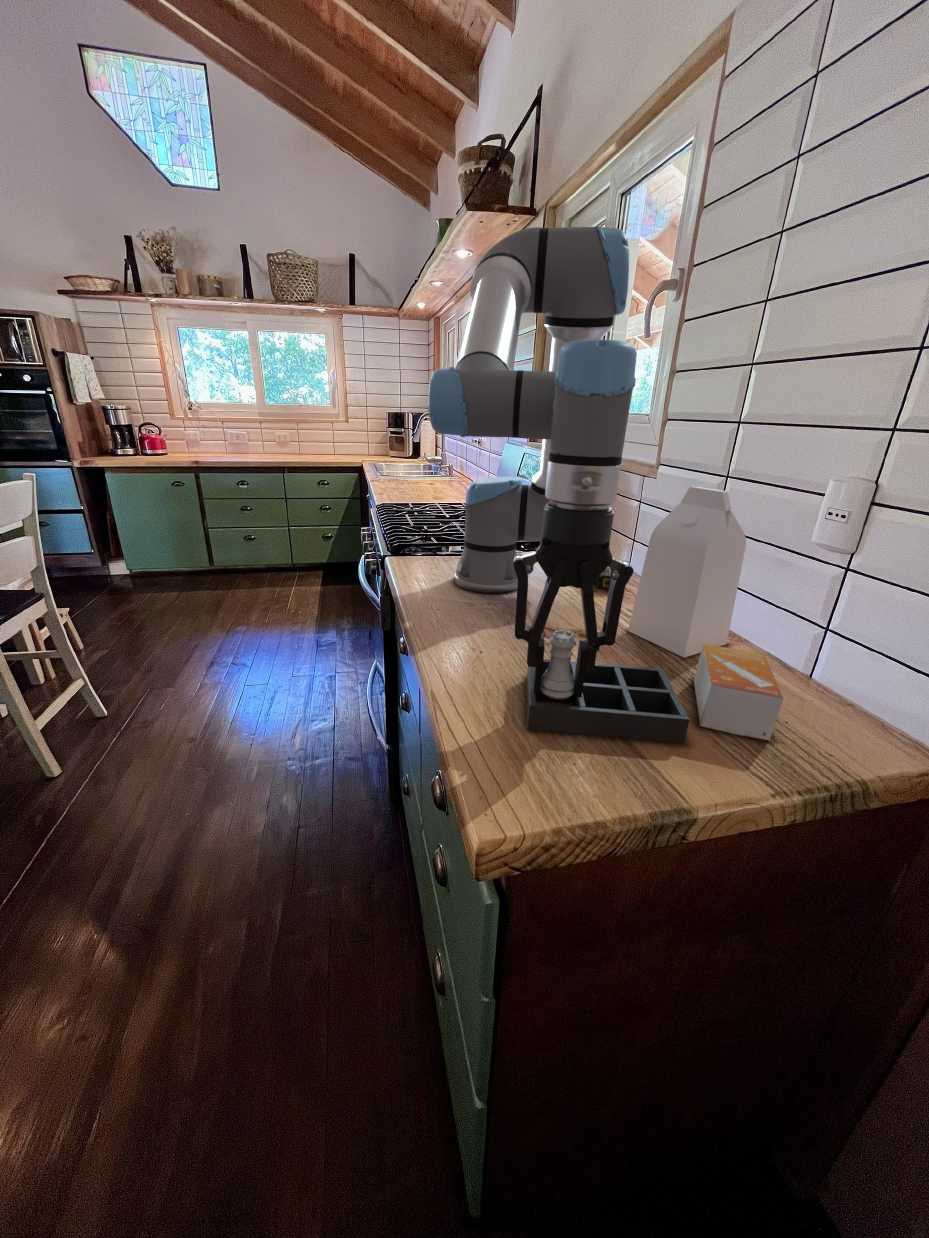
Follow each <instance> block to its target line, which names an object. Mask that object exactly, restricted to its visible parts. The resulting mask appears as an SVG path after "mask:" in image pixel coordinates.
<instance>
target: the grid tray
mask: <svg viewBox="0 0 929 1238" xmlns="http://www.w3.org/2000/svg"><path fill="white" fill-rule="evenodd" d="M576 662H577V661H573V660H572V661H571V660H570V666H571V673H572V675H573V678H574V677H575V669H576ZM549 663H550V659H547V658H544V659H543V668H542V676H543V674H545V671H546V670H547V669H548V666H549ZM534 670H535V667H528V666H527V672H526V717H527V718H526V721H527V723H526V724H527V725H526V726H527V727H526V728H527V730H528V731H540V732H550V733H561V734H571V735H572V734H573V735H583V736H594V737H605V738H615V739H625V740H637V741H648V742H659V743H670V744H678V745H679V744H680V745H684V744H685V741H686V736H687V732H688V728H689V725H690V716H689V715H688V714H687V711H686V710H685V708H684V706H683V704H682V703H681V701H680V699H679V697H678V695H677V693H676V691H675V690H674V688H673V686H672V684H671V682H670V681H669V678H668V676H667V675H666V673H665V671H664V669H663V668H660V667H659V668H658V667H647V666H633V665H622V664H611V663H610V664H609V663H597V662H595V667H594V670H593V671H592V672H591V671H585V676H584V683H583V690H582V697H575V693H574V694H573V695H572V696H570V697H569V698H567V699H553V698H549V697H547V696H545V695H544V694H543V693H542V691H541V690H540V694H534V689H533V680H534ZM541 678H542V677H541Z"/></svg>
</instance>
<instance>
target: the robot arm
mask: <svg viewBox="0 0 929 1238" xmlns="http://www.w3.org/2000/svg"><path fill="white" fill-rule="evenodd" d="M629 279H630V249H629V241H628V237H627V234H626V233H625V232H624V231H623V230H622V229H621V228H617V227H606V226H599V225H596V226H575V227H574V226H569V227H568V226H567V227H565V226H563V227H562V226H560V227H541V226H536V227H528V228H523V229H520V230H518V231H515V232H513V233H511V234H509V235H508V236H506V237H504V238H503V239H501V240H500V241H498V242H497V243H496V244H494V245H493V246H491V248H490V249H488V250H487V252H486V253H485V254H483V256H482V258H481V259H480V260H479V261H478V264H477V265H476V267H475V270H474V272H473V276H472V279H471V283H470V290H469V291H470V299H471V302H472V303H471V308H470V311H469V315H468V318H467V322H466V326H465V330H464V333H463V337H462V340H461V344H460V347H459V351H458V355H457V359H456V362H455V366H450V367H447V368H438V369H436V370H434V371H433V372H432V374H431V375H430V379H429V383H428V397H427V398H428V399H427V403H428V404H427V406H428V407H427V408H428V417H429V423H430V426H431V427H432V429H433V430H434V432H436V433H437V434H440V435H449V436H459V437H461V438H467V437H472V438H514V439H529V440H542V445H541V455H540V465H539V470H538V471H537V472H536V473H534V474H533V475H532V477H531V484H523V482H522V478H521V477H520V476H496V477H495V476H494V477H488V478H481V479H477V480H473V481H471V482H470V483H469V484H467V487H466V493H465V502H464V509H465V510H464V536H463V540H464V541H463V550H462V554H461V556H460V558H459V560H458V561H457V564H456V570H455V572H454V583H455V585H457V586H458V587H460V588H462V589H464V590H468V591H472V592H477V593H485V594H500V593H508V592H509V593H510V592H512V591H516V600H515V601H516V602H515V603H516V604H515V618H514V619H515V620H514V637H515V638H516V639H517V640H523V641H526V643H527V650H526V665H527V668H528V667H535V670H534V680H533V689H534V694H540V687H541V677H542V668H543V659H545V649H546V645H545V637H542V635H543V632H544V630H545V626H546V625H547V621H548V619H549V615H550V613H551V610H552V607H553V605H554V603H555V599H556V597H557V595H558V593H559V590H560V588H566V587H573V588H576V589H580V597H581V605H582V606H581V607H582V615H583V621H584V623H583V624H584V632H585V640H578V648H577V654H576V655H577V656H576V661H575V662H576V669H575V677H574V681H575V686H574V689H575V692H574V693H575V697H582V690H583V683H584V676H585V671H591V672H592V671H593V670H594V667H595V663H596V660H597V653H598V652H599V650H600V647H603V646H608V647H610V646H613V645H615V642H616V639H617V638H616V637H617V633H618V629H619V628H618V627H619V622H620V617H621V611H622V605H623V601H624V595H625V590H626V586H627V584H628V583H629V582H630V579H631V577H632V576H633V574H634V572H635V571H634V568H633V566H632V565H631V564H630V562H629V561H628V560H626V559H625V560H620V559H617V558H616V557H613V554H612V552H611V549H610V543H611V537H612V531H613V523H614V517H615V510H614V509H613V508H612V507H611V506H610V505H613V504H614V503H615V502H617V497H618V496H617V495H618V490H619V489H618V488H619V482H620V474H621V473H620V472H621V467H622V460H623V454H624V453H623V452H624V446H625V439H626V433H627V426H628V421H629V414H630V409H631V402H632V396H633V392H634V391H633V389H634V387H635V386H636V381H637V379H636V377H635V375H636V374H635V373H636V367H637V366H636V365H637V355H638V354H637V353H638V352H637V349H636V347H635V345H633V344H632V343H630V342H628V341H623V340H618V339H603V338H604V336H605V335H606V334H607V333H609V332H610V331H611V330H612V328H613V326H614V322H615V321H614V320H615V316H618V317H619V316H620V315H622V314H624V312H625V309H626V306H627V298H628V291H629ZM526 313H527V314H529V313H532V314H544V315H545V318H544V327H545V329H546V330H547V332H549V334H550V336H551V347H550V357H549V370H523V369H518V370H516V369H515V370H514V368H515V362H516V361H515V360H516V355H517V349H518V340H519V333H520V326H521V319H522V315H523V314H526ZM517 540H518V541H531V542H533V541H534V542H539V543H538V545H537V546H536V548H535V551H534V552H530V553H527V554H522V553H517V542H518V541H517ZM536 563H537V564H538V565H539V566H540V568H541V570H542V571H543V573H544V575H545V576H546V579H545V583H544V588H543V590H542V593H541V596H540V599H539V602H538V605H537V607H536V610H535V613H534V617H533V619H532V622H531V625H530V626H527V625H526V622H527V606H528V593H529V575H530V574H532V573H533V572H534V565H535V564H536ZM606 568H609V569H610V570H609V574H610V576H611V581H610V587H609V589H608V591H607V592H608V593H607V599H606V604H605V610H604V617H603V621H602V626H601V627H602V628H601V631H598V626H597V625H598V623H597V615H596V605H595V592H594V585H593V581H594V580H595V579H596V578H597V577H598V576H599V575H600V574H601V573H602V572H603V571H604V570H605V569H606Z"/></svg>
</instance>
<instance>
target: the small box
mask: <svg viewBox="0 0 929 1238" xmlns="http://www.w3.org/2000/svg"><path fill="white" fill-rule="evenodd" d="M699 654H700V655H699V659H698V663H697V666H696V671H695V675H694V679H693V683H694V692H695V697H696V705H697V712H698V720H699V726H700V727H703V728H705V729H711V730H715V731H720V732H723V733H729V734H732V735H737V736H743V737H748V738H754V739H760V740H765V741H771V738H772V735H773V731H774V728H775V725H776V722H777V718H778V715H779V713H780V709H781V707H782V703H783V700H784V697H783V695H782V692H781V690H780V687H779V686H778V683H777V680H776V678H775V676H774V674H773V671H772V669H771V667H770V664H769V663H768V660H767V658H766V655H765V653H763V652H756V651H749V650H742V649H735V648H729V647H726V646H725V647H724V646H713V645H707V644H703V646H702V650H701V652H700V653H699Z"/></svg>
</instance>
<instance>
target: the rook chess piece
mask: <svg viewBox="0 0 929 1238" xmlns="http://www.w3.org/2000/svg"><path fill="white" fill-rule="evenodd" d="M564 631H565V629H559V631H558V630H555V631H553V632H552V635H551V637H549V639H548V641H549V644H550V645H551V649H549V653H550V659H549V660H550V663H549V666H548V669H547V670H546V671H545V674H543V676H542V678H541V687H540V690H541V691H542V693H543V694H544V695H545V696H547V697H549V698H553V699H567V698H569V697H570V696H572V695H573V694H574V692H575V689H574V686H575V681H574V678H573V675H572V673H571V666H570V661H571V660H572V657H573V655H574V653H573V648H574V647H576V645H577V641H576V639H575V634H574V633H572V632H571V631H570V630H567V631H566V633H564Z"/></svg>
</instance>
